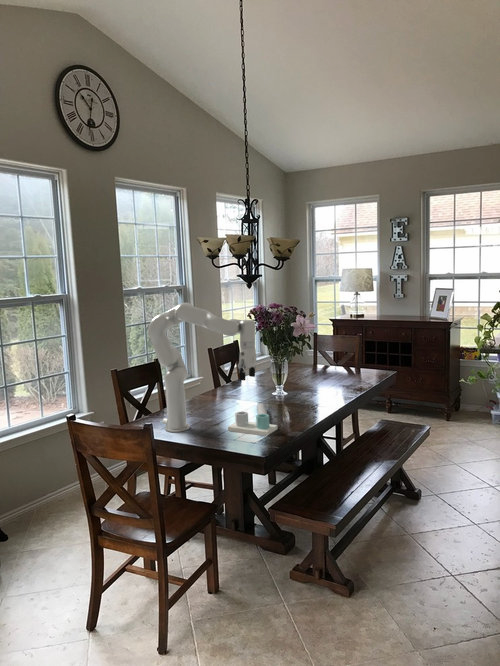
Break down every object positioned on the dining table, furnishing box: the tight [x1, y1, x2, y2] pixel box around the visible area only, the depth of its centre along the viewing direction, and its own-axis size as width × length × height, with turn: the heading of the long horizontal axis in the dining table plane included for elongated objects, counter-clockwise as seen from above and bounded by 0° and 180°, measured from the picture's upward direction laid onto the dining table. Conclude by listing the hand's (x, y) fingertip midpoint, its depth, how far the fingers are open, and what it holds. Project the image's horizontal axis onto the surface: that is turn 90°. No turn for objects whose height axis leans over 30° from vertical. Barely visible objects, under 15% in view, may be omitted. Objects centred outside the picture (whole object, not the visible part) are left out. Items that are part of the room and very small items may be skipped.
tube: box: [256, 402, 268, 415], centre depth 297 cm, size 5×5×25 cm
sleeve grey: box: [234, 411, 249, 427], centre depth 276 cm, size 6×6×6 cm
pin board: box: [227, 421, 278, 437], centre depth 273 cm, size 22×12×7 cm, turn 62°
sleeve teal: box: [255, 413, 270, 429], centre depth 270 cm, size 6×6×6 cm
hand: (247, 378), depth 273 cm, fingers open, 9 cm apart
